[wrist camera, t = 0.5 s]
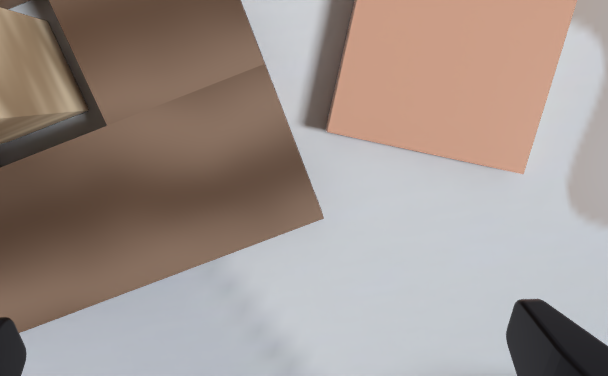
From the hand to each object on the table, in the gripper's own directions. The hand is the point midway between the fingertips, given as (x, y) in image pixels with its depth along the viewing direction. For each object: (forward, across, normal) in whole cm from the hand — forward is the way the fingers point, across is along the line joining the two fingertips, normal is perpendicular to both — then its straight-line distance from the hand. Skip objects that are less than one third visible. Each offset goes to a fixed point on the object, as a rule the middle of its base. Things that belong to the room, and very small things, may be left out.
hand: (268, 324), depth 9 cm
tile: (+15, -8, -1) cm, 17 cm away
